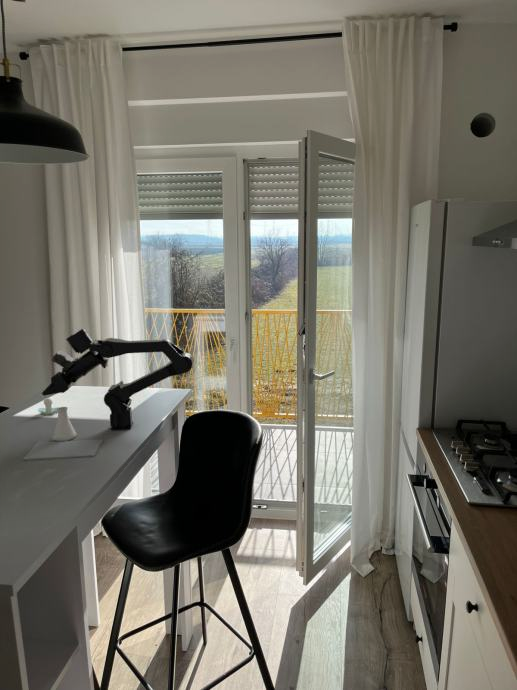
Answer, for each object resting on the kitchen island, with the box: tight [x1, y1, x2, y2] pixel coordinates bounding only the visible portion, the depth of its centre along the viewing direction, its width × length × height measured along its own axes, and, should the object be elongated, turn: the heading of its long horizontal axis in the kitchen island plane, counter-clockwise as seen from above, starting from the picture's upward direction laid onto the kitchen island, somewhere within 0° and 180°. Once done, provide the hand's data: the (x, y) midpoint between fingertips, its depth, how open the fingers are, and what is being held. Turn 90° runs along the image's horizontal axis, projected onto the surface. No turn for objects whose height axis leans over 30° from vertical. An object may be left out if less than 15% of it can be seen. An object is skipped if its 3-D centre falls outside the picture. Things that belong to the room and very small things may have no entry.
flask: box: [51, 406, 78, 442], centre depth 171 cm, size 7×7×10 cm
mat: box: [23, 439, 104, 461], centre depth 161 cm, size 20×13×1 cm, turn 95°
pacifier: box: [37, 397, 59, 416], centre depth 198 cm, size 7×6×6 cm
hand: (47, 390), depth 177 cm, fingers open, 9 cm apart
